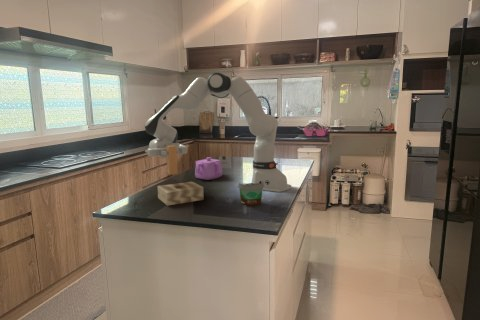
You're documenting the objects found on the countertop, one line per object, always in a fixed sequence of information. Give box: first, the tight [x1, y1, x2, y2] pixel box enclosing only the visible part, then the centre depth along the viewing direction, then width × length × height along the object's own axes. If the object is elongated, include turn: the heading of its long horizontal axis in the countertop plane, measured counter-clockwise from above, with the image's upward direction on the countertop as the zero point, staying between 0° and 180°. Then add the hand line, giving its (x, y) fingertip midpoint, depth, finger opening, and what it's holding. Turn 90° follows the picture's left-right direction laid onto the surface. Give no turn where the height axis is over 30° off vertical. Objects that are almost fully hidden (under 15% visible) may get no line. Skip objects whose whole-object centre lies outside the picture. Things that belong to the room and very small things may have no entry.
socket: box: [157, 181, 205, 206], centre depth 162 cm, size 18×14×6 cm
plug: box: [166, 145, 179, 176], centre depth 168 cm, size 4×4×14 cm
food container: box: [237, 181, 264, 207], centre depth 152 cm, size 12×6×10 cm, turn 105°
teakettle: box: [194, 156, 223, 181], centre depth 208 cm, size 17×17×12 cm
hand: (172, 153), depth 166 cm, fingers closed on plug, 4 cm apart
